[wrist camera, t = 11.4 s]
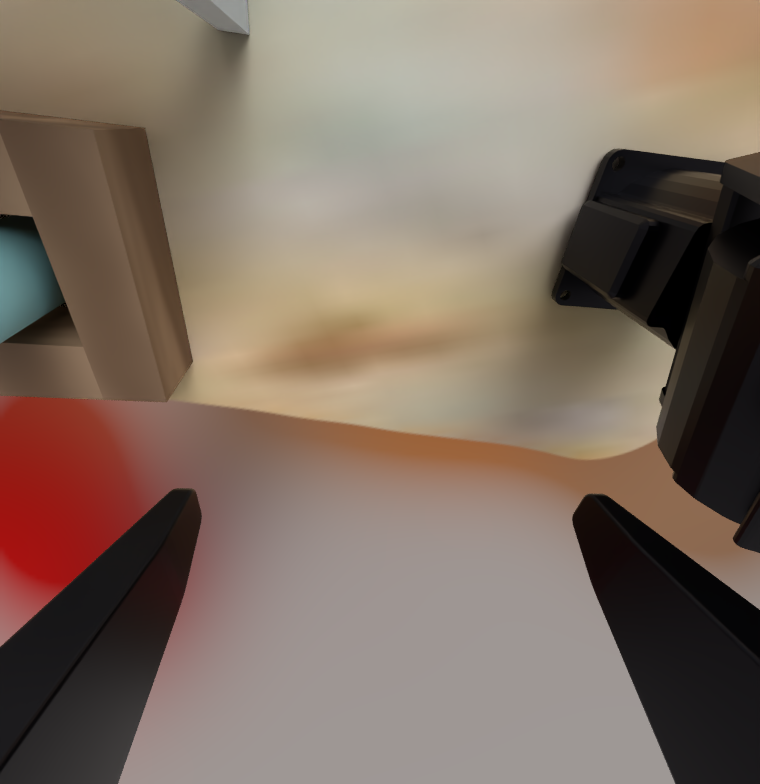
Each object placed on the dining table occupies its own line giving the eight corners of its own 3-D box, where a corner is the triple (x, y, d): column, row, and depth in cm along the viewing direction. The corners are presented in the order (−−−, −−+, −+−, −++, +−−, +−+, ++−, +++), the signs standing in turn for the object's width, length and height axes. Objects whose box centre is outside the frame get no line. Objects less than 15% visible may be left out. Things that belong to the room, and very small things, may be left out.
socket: (144, 127, 14) (93, 130, 11) (192, 361, 20) (166, 402, 17) (-173, 89, 13) (-321, 81, 10) (-23, 350, 18) (-90, 392, 16)
